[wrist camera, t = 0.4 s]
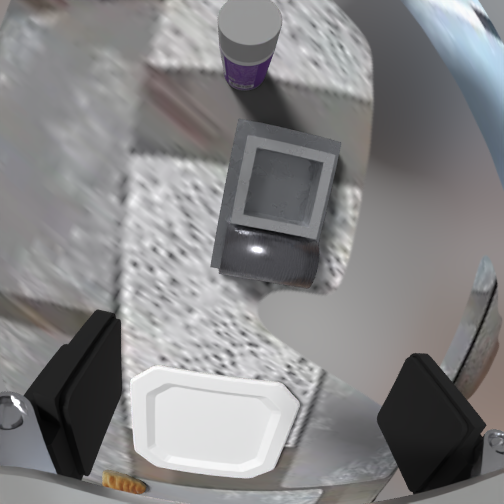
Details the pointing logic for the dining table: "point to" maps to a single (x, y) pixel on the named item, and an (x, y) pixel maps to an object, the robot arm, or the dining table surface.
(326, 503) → the dining table surface
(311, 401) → the dining table surface
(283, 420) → the plate
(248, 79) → the container
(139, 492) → the pastry
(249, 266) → the block
